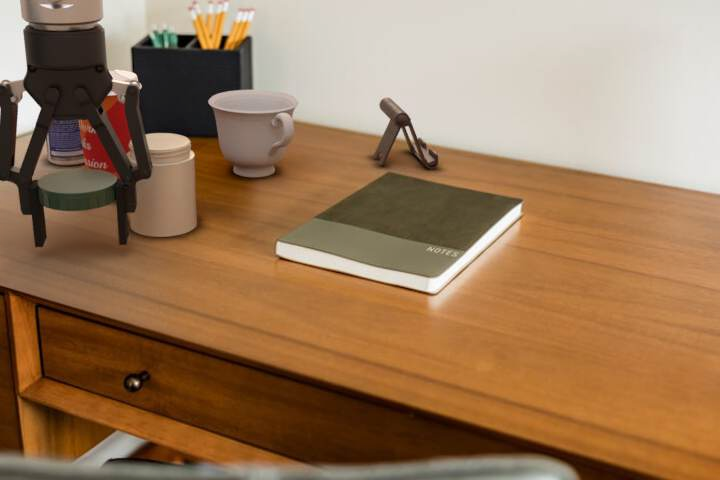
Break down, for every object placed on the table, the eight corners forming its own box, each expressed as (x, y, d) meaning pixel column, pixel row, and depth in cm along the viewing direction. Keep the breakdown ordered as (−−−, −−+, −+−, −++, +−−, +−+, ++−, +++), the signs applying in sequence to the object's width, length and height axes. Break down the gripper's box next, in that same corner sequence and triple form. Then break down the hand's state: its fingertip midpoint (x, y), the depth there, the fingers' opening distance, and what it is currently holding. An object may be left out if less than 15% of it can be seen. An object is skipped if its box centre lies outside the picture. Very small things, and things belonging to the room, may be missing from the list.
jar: (127, 238, 101) (121, 151, 97) (132, 213, 108) (127, 131, 104) (196, 236, 102) (193, 150, 98) (197, 212, 109) (194, 131, 105)
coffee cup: (79, 185, 116) (69, 69, 110) (144, 180, 118) (137, 67, 113) (81, 207, 109) (71, 84, 103) (151, 202, 111) (144, 82, 105)
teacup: (250, 197, 114) (249, 121, 110) (194, 166, 125) (191, 95, 121) (327, 181, 121) (329, 109, 117) (267, 153, 132) (267, 85, 128)
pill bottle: (99, 161, 125) (93, 90, 122) (61, 169, 121) (54, 96, 118) (77, 151, 129) (71, 83, 125) (40, 159, 125) (33, 88, 121)
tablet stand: (438, 169, 128) (442, 112, 124) (384, 171, 126) (387, 113, 123) (420, 151, 135) (424, 96, 132) (369, 153, 134) (372, 97, 131)
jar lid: (134, 197, 94) (133, 179, 94) (70, 217, 89) (69, 199, 88) (86, 180, 99) (85, 163, 98) (22, 198, 93) (20, 181, 92)
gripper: (-61, 28, 82) (-29, 258, 91) (171, 31, 85) (180, 252, 94) (-40, 15, 89) (-12, 230, 97) (174, 18, 92) (182, 226, 101)
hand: (82, 240), depth 96 cm, fingers closed on jar lid, 8 cm apart
